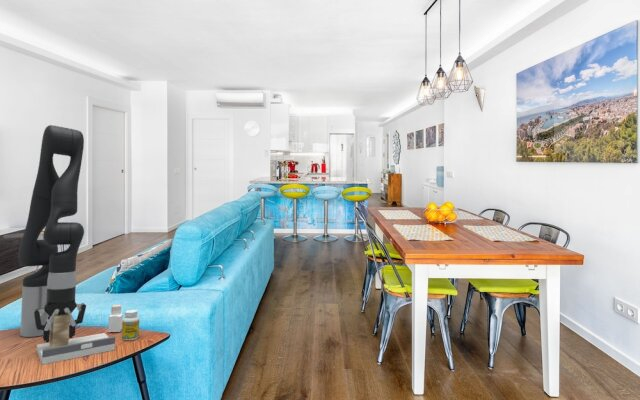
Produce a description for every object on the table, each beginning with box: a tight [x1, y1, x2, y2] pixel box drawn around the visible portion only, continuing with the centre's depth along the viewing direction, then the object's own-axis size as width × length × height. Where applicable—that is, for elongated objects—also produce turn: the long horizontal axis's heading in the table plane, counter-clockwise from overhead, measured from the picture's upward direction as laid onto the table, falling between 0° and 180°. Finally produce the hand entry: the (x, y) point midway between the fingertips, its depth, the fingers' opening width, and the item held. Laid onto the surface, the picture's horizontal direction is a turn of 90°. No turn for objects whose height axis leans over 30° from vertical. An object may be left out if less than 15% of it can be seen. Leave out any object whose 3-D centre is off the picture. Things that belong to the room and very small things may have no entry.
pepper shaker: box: [107, 304, 124, 333], centre depth 140 cm, size 4×4×10 cm
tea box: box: [49, 314, 70, 348], centre depth 120 cm, size 4×6×10 cm
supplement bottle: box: [121, 309, 140, 341], centre depth 134 cm, size 5×5×10 cm
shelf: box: [36, 332, 116, 365], centre depth 121 cm, size 13×19×4 cm
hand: (59, 339), depth 119 cm, fingers open, 5 cm apart
